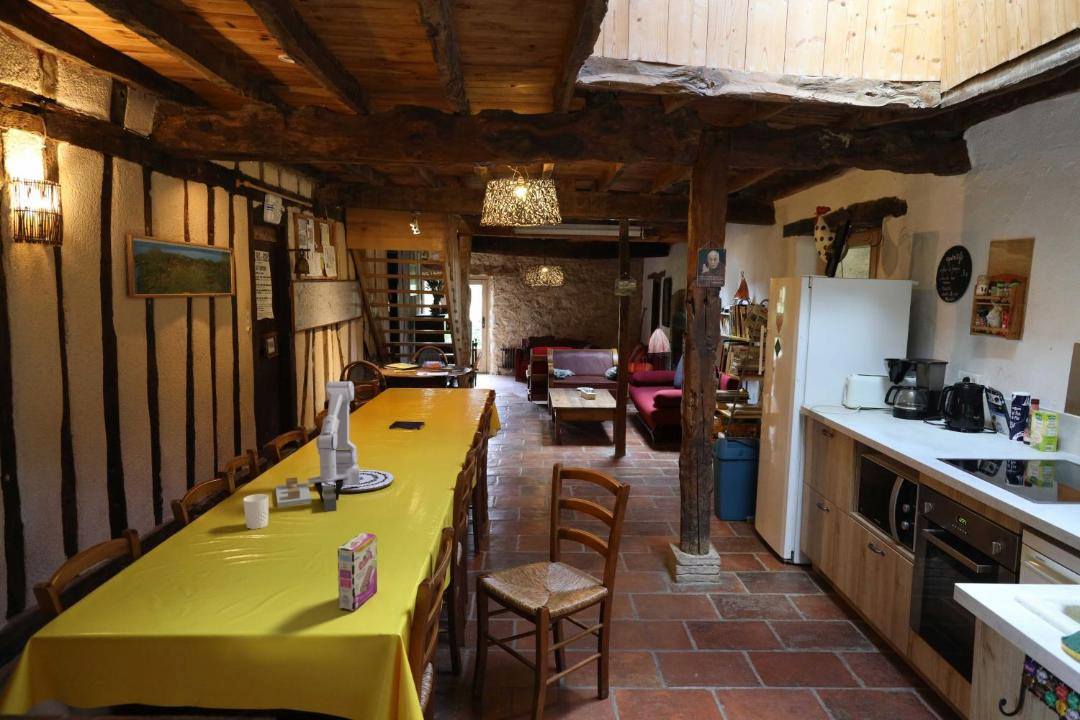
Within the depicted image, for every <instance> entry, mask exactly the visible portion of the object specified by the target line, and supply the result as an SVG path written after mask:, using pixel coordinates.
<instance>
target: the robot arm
mask: <svg viewBox="0 0 1080 720" xmlns="http://www.w3.org/2000/svg"><path fill="white" fill-rule="evenodd" d="M325 394H326V396H327V399H328V401H329V402H328V408H327V409H328V411H327V416H325V417H324V418H323V422H322V426H321V431H320V435H317V438H316V448H317V453H318V455H319V470H320V471H319V472H320V473H319V474H320V476H319V475H318V476H316V477H315V476H314V477H310V478H307V484H308V486H311V485H314V487H315V489H316V490H317V493H318V495H319V498H320V503H324V501H323V485H322V484H324V483H331V482H332V483H333V482H335V483H334V484H336V489H335V495H336V501H339V497H340V493H341V488H342V486H345V485H350V484H359V483H361V482H360V467H359V464H358V463H357V461H358V451H357V445H355V444H354V443H353V442H351V440H350V404H351V402H352V401H354V399H355V386H354V383H353V381H351V380H349V381H330V380H329V381H327V382H326V384H325Z"/></svg>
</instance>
